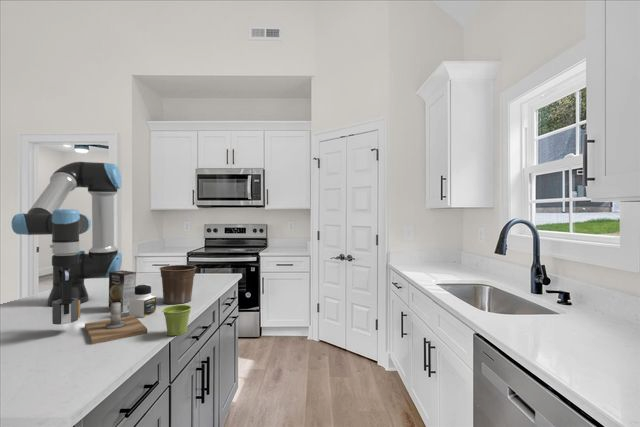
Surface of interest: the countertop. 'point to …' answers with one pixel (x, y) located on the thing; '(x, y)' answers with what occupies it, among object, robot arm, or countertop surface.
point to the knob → (57, 311)
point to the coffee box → (121, 288)
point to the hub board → (114, 327)
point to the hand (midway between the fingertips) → (65, 319)
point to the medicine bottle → (142, 302)
